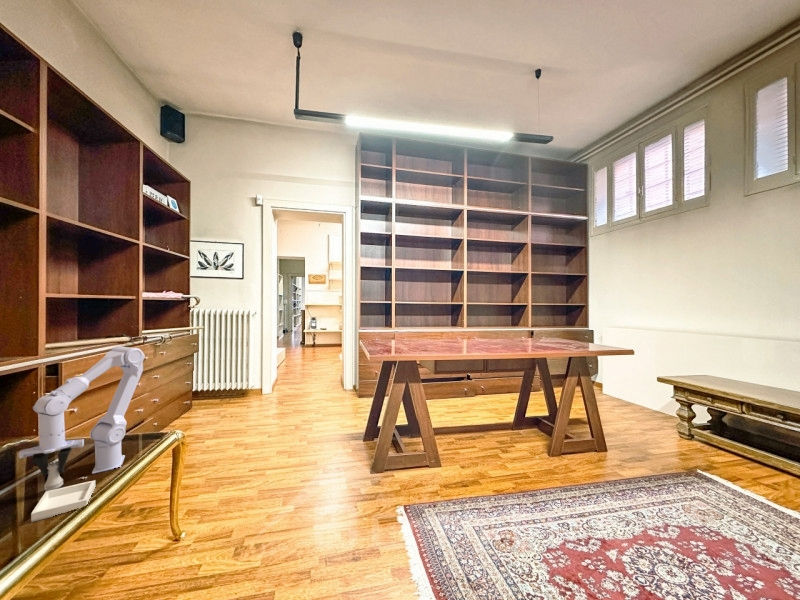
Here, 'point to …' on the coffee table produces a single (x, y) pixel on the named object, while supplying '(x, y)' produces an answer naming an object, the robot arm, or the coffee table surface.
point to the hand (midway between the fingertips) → (53, 473)
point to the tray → (63, 500)
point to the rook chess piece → (53, 477)
